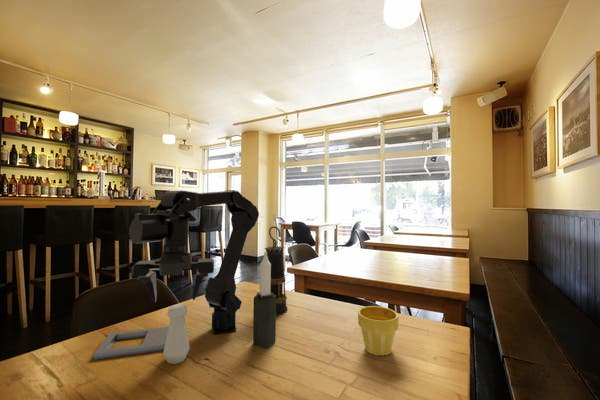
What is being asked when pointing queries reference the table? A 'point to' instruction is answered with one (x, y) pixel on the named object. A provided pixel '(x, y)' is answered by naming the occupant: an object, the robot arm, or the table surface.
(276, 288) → the lantern
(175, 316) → the salt shaker
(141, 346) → the rail plate
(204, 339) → the table surface
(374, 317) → the plant pot
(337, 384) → the table surface
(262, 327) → the candle
